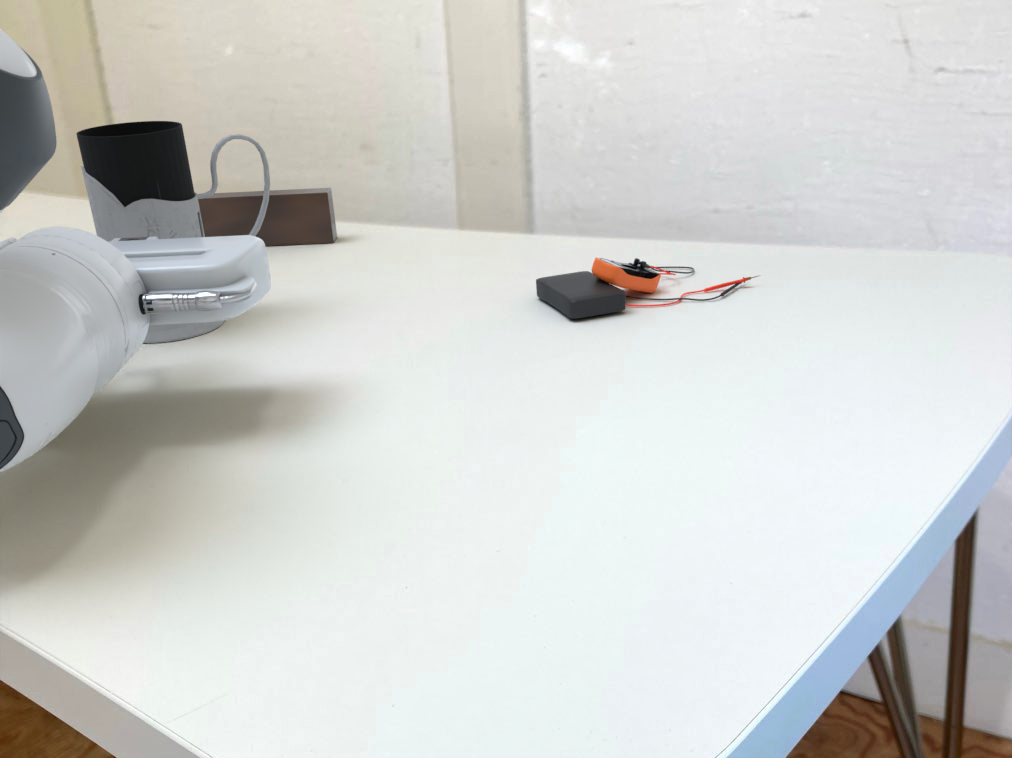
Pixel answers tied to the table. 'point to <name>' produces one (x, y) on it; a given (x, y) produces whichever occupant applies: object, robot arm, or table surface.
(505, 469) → the table surface
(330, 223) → the bar
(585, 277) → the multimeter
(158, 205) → the glass holder
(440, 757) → the table surface
